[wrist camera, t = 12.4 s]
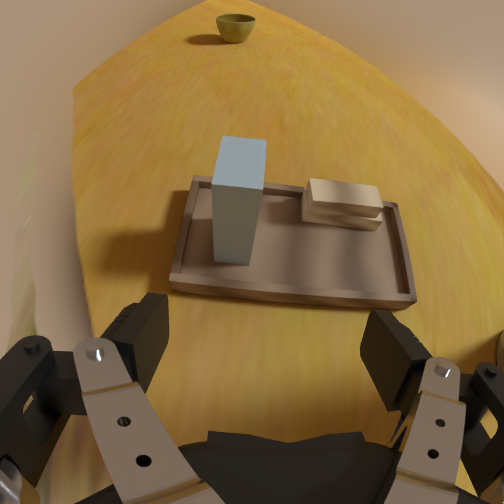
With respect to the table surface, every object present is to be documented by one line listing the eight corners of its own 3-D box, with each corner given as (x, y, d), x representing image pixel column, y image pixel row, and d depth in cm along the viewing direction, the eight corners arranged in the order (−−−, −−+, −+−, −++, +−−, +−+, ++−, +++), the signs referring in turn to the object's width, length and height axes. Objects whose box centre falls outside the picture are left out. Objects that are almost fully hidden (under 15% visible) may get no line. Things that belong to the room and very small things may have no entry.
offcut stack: (371, 209, 34) (384, 188, 30) (375, 233, 32) (390, 213, 28) (301, 198, 33) (309, 174, 30) (301, 223, 32) (311, 200, 28)
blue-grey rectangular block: (253, 221, 31) (266, 140, 21) (249, 265, 28) (263, 189, 19) (221, 218, 31) (222, 135, 21) (214, 261, 28) (211, 184, 19)
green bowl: (260, 45, 61) (263, 21, 55) (224, 48, 58) (225, 23, 52) (243, 34, 65) (245, 12, 58) (209, 37, 62) (210, 15, 56)
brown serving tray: (388, 214, 36) (397, 203, 33) (405, 309, 29) (417, 301, 27) (194, 189, 34) (193, 175, 32) (172, 290, 28) (168, 280, 26)
